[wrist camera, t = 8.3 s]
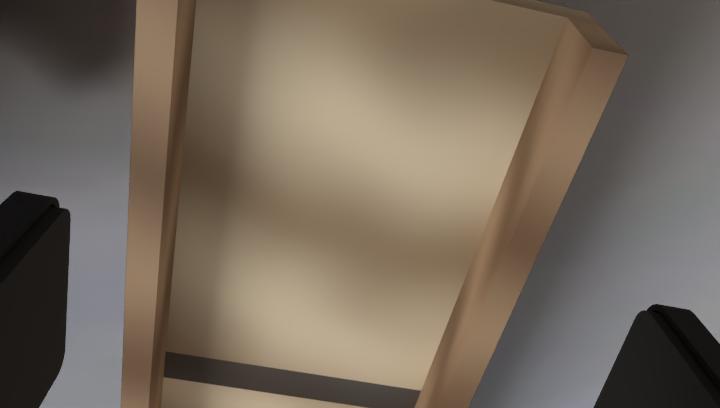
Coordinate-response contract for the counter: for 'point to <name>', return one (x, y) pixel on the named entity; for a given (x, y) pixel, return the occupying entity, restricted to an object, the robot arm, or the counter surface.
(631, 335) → the robot arm
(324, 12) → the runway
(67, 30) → the counter surface
